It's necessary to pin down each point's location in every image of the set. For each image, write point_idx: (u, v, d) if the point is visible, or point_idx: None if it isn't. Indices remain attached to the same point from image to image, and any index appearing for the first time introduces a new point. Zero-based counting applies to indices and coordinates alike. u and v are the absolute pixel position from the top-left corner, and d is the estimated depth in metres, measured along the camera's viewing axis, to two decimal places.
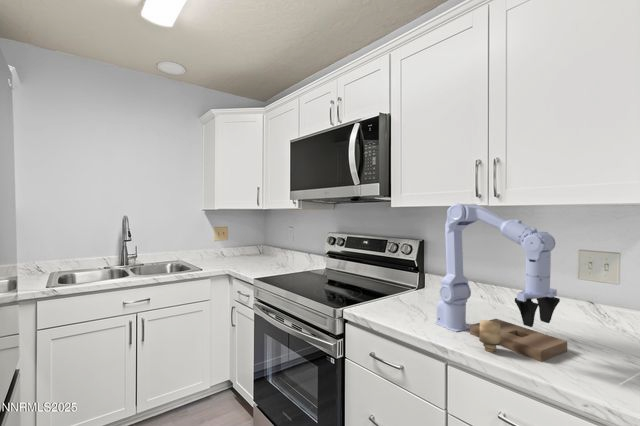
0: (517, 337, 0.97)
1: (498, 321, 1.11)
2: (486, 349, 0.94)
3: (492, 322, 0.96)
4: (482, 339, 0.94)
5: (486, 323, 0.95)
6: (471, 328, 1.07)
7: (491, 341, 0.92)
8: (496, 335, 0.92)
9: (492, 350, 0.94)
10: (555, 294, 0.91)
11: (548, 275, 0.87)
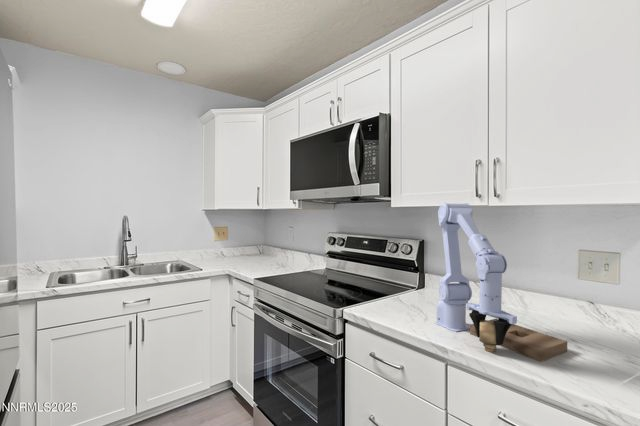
0: (517, 337, 0.97)
1: None
2: (486, 349, 0.94)
3: (492, 322, 0.96)
4: (482, 339, 0.94)
5: (486, 323, 0.95)
6: (471, 328, 1.07)
7: (491, 341, 0.92)
8: None
9: (492, 350, 0.94)
10: (510, 321, 0.88)
11: (496, 295, 0.92)
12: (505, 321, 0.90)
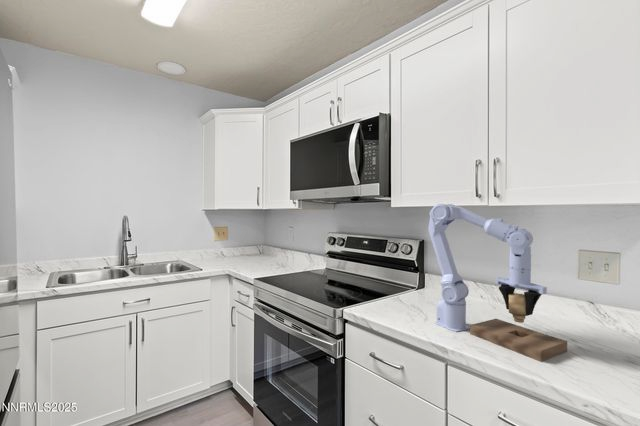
0: (517, 337, 0.97)
1: (498, 321, 1.11)
2: (516, 320, 1.00)
3: (520, 294, 1.01)
4: (512, 311, 0.99)
5: (515, 295, 1.00)
6: (471, 328, 1.07)
7: (521, 312, 0.97)
8: (525, 306, 0.97)
9: (522, 321, 0.99)
10: (540, 292, 0.94)
11: (530, 267, 0.98)
12: (535, 292, 0.95)
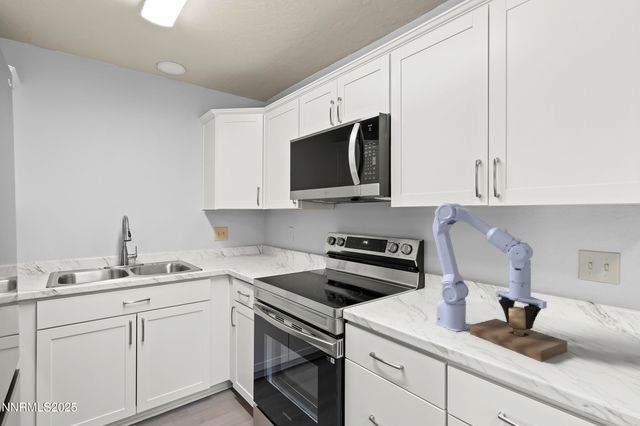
0: (517, 337, 0.97)
1: (498, 321, 1.11)
2: (516, 334, 1.00)
3: (520, 308, 1.01)
4: (512, 324, 0.99)
5: (515, 309, 1.00)
6: (471, 328, 1.07)
7: (521, 326, 0.97)
8: (525, 320, 0.97)
9: (522, 334, 0.99)
10: (540, 306, 0.94)
11: (530, 281, 0.98)
12: (535, 306, 0.95)
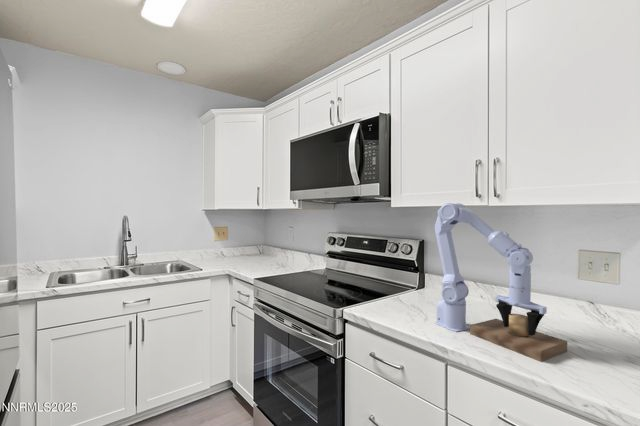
0: (517, 337, 0.97)
1: (498, 321, 1.11)
2: None
3: (521, 315, 1.01)
4: (512, 331, 0.99)
5: (515, 316, 1.00)
6: (471, 328, 1.07)
7: (521, 333, 0.98)
8: (525, 327, 0.97)
9: None
10: (540, 312, 0.94)
11: (530, 287, 0.98)
12: (535, 312, 0.95)
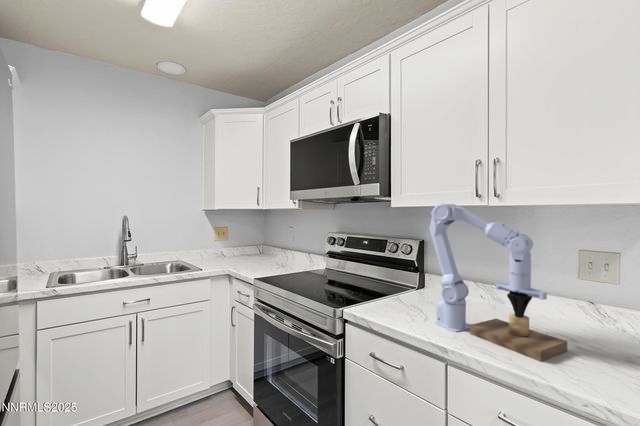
0: (517, 337, 0.97)
1: (498, 321, 1.11)
2: None
3: None
4: (512, 331, 0.99)
5: (515, 316, 1.00)
6: (471, 328, 1.07)
7: (521, 333, 0.98)
8: (525, 327, 0.97)
9: None
10: (541, 297, 0.94)
11: (530, 273, 0.98)
12: (535, 297, 0.95)
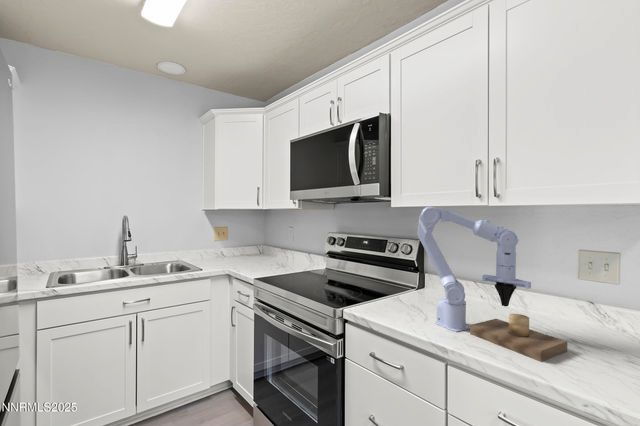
0: (517, 337, 0.97)
1: (498, 321, 1.11)
2: None
3: (521, 315, 1.01)
4: (512, 331, 0.99)
5: (515, 316, 1.00)
6: (471, 328, 1.07)
7: (521, 333, 0.98)
8: (525, 327, 0.97)
9: None
10: (526, 286, 1.02)
11: (515, 264, 1.07)
12: None
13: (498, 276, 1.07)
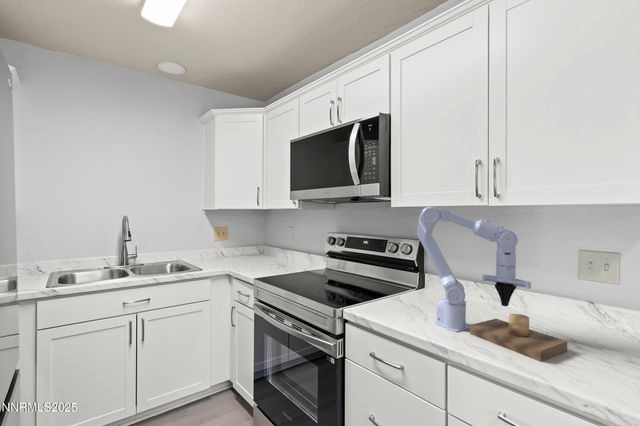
0: (517, 337, 0.97)
1: (498, 321, 1.11)
2: None
3: (521, 315, 1.01)
4: (512, 331, 0.99)
5: (515, 316, 1.00)
6: (471, 328, 1.07)
7: (521, 333, 0.98)
8: (525, 327, 0.97)
9: None
10: (526, 286, 1.02)
11: (515, 264, 1.07)
12: None
13: (498, 276, 1.07)
